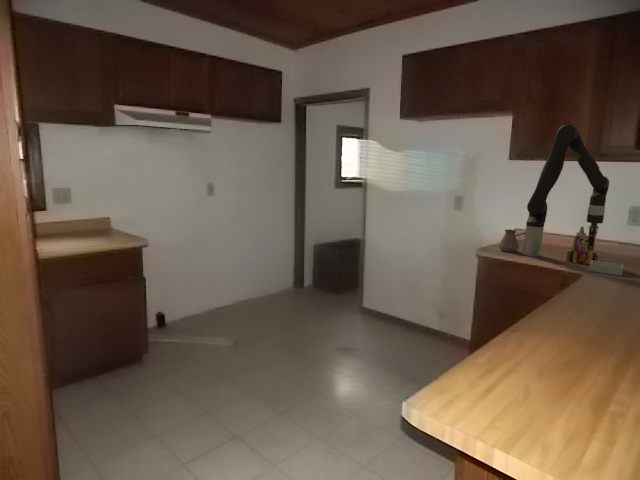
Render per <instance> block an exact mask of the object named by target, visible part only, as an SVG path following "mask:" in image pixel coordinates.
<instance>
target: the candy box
mask: <svg viewBox="0 0 640 480" xmlns="http://www.w3.org/2000/svg"><path fill="white" fill-rule="evenodd" d="M575 236H576V240H575V249H574V257H573V260H572V262H573V263H575V264H576V263H577V264H582V265H583V264H584V265H590V262H591V261H592V259H593V252H594V250H595V243H596V238H595V239H594V244H593V246H588V244H589V234H588V235H587V234H586V235H577V234H576V235H575Z"/></svg>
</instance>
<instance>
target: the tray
mask: <svg viewBox="0 0 640 480" xmlns="http://www.w3.org/2000/svg"><path fill="white" fill-rule="evenodd" d="M624 265H625V264H620V263H613V262H606V261H600V260H599V261H593V260H592V261H591V262H590V264H589V267H588V271H589V272H593V273H601V274H608V275H613V274H614V276H622V275H623V271H624V268H625V267H624Z"/></svg>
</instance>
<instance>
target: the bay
mask: <svg viewBox="0 0 640 480" xmlns="http://www.w3.org/2000/svg"><path fill="white" fill-rule="evenodd" d="M566 254H567V255H566V261H567V263H569V262H571V261H573V257H574V250H573V249H571V248H570V249H568V250H567V253H566ZM600 255H601V252H593V259H592V260H593V261H600Z"/></svg>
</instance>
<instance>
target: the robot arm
mask: <svg viewBox="0 0 640 480" xmlns="http://www.w3.org/2000/svg"><path fill="white" fill-rule="evenodd" d="M554 138H555V139H554V141H553V144H552V147H551V150H550V153H549V154H548V156H547V159H546V160H545V163H544V166H543V168H542V171H541V173H540V176H539V179H538V181H537V183H536V186H535V189H534V191H533V193H532V195H531V197H530V199H529V200H528V203H527V205H526V209H527V211H528V213H529V214H528V218H527V220H526V224H525V231H524V232H525V234H524V238H523V243H522V251H521V255H524V256H527V257H541V253H542V245H543V237H544V228H545V223H546V220H547V214H548V203H547V199H548V197H549V195H550V191H552V189H553V187H554V186H555V184H556V183H557V182H558V179H559V177H560V175H561V173H562V171H563V168H564V164H565V160H566V159H565V158H566V154H567V150H568V148H570V150H571V151H572V152H573V155H574V157H575V159H576V161H577V163H578V166H579V167H580V168H581V170H582V171H583V173H584V174H585V176H586V178H587V180H588V182H589V183H590V186H591V187H592V194H591V195H590V197H589V205H588V208H587V216H586V223H589V224H590V225H589V226H588V236H589V244H588V246H593V244H594V239H595V240H596V238H597V234H598V230H599V226H598V224H599V225H600V224H603V223H604V219H605V212H606V211H605V210H606V209H605V208H606V207H605V206H606V201H607V194H608V190H609V186H610V180H609V178H608V177H606V176H604V174H603V173H602V171H601V170H600V167H599V164H598V163H597V162H596V160H595V159H594V157H593V155H592V154H591V152H590V151H589V150H588V149H587V147H586V146H585V143H584V142H583V140H582V138H581V135H580V132H579V130H578V128H577V127H576V126H574V125H572V124H569V123H568V124H563V125H561V126H560V127H559V128H558V130H557V132H556V134H555V137H554ZM594 245H595V244H594Z"/></svg>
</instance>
